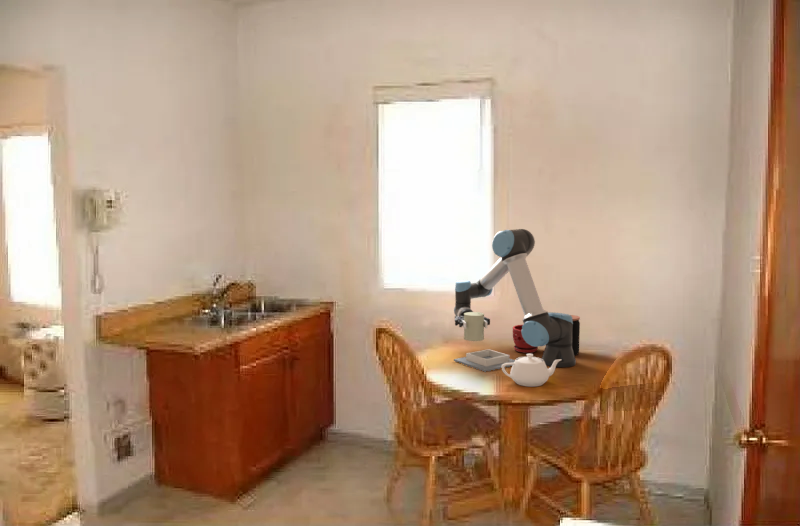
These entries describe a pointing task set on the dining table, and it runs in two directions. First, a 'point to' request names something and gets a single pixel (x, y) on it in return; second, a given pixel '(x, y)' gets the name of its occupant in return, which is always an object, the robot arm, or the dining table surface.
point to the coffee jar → (575, 334)
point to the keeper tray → (485, 360)
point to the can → (474, 326)
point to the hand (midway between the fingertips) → (476, 325)
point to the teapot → (530, 370)
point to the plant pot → (521, 341)
